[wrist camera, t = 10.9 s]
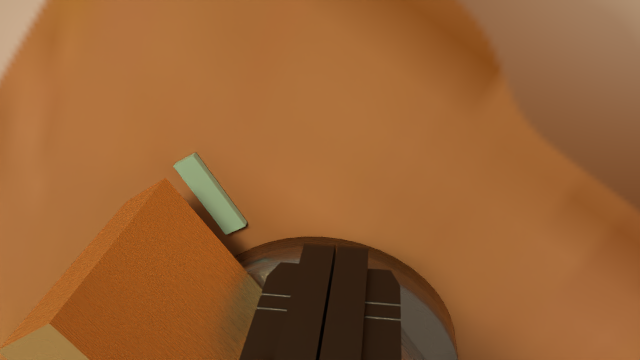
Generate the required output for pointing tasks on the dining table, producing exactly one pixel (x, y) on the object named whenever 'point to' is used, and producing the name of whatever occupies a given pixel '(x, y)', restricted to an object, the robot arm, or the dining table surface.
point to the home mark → (210, 193)
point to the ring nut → (148, 293)
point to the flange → (416, 293)
